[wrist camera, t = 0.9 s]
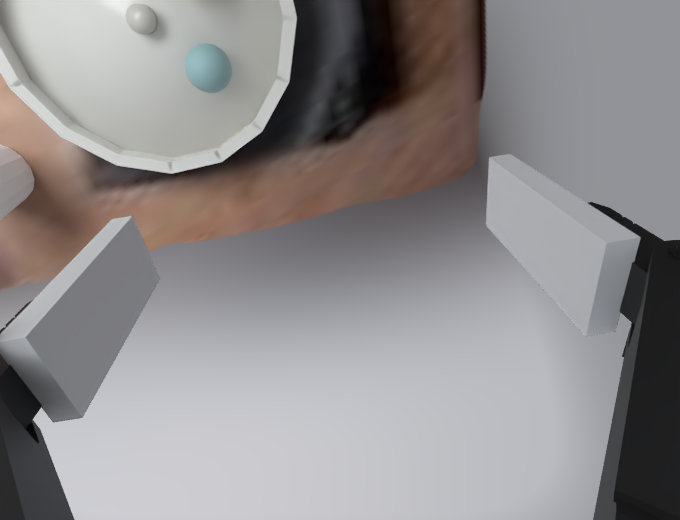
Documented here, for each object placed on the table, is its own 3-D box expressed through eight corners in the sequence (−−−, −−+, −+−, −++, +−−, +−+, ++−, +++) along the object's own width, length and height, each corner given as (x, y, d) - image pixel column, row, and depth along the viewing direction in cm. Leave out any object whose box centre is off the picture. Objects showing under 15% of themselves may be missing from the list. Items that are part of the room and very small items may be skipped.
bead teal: (181, 60, 33) (169, 64, 30) (214, 32, 32) (204, 33, 29) (212, 98, 34) (203, 105, 31) (243, 72, 34) (237, 77, 31)
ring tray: (-87, -29, 30) (-117, -34, 28) (138, -290, 24) (122, -320, 22) (155, 208, 40) (146, 219, 38) (349, 61, 35) (352, 63, 33)
